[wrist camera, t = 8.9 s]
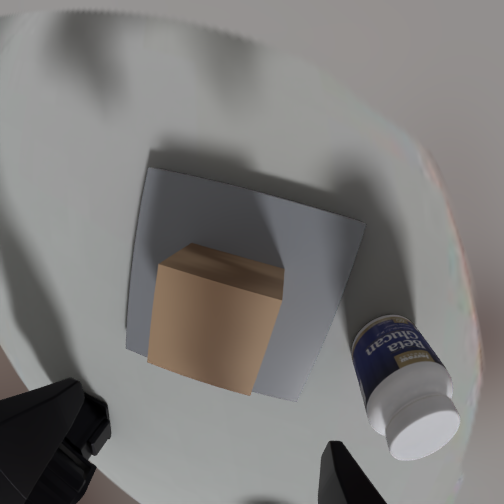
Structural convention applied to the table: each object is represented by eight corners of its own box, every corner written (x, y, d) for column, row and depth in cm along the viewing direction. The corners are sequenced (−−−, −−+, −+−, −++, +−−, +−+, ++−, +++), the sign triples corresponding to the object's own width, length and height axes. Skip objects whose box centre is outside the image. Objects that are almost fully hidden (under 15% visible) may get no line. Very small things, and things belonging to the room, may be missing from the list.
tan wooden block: (177, 323, 20) (147, 362, 15) (191, 242, 18) (158, 263, 14) (259, 349, 19) (250, 395, 15) (284, 268, 18) (282, 300, 13)
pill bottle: (403, 298, 19) (468, 378, 9) (423, 351, 19) (475, 434, 10) (338, 335, 20) (362, 436, 10) (364, 383, 21) (390, 479, 11)
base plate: (132, 341, 22) (125, 348, 21) (156, 167, 19) (148, 167, 18) (296, 392, 21) (296, 402, 20) (361, 221, 18) (366, 224, 17)
